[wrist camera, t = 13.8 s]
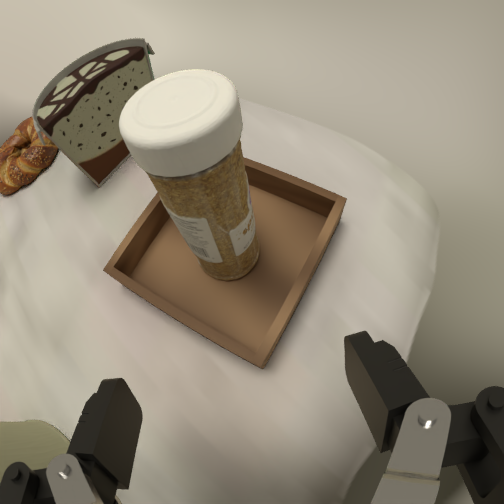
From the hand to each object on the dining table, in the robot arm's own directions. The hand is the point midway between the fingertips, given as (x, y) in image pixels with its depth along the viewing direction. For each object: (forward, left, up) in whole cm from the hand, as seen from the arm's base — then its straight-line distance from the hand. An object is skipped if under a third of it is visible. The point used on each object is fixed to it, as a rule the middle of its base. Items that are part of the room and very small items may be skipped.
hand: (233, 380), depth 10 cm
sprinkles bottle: (+7, +6, -9) cm, 13 cm away
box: (+7, +6, -10) cm, 13 cm away
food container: (+12, +23, -10) cm, 28 cm away
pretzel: (+6, +35, -10) cm, 37 cm away
